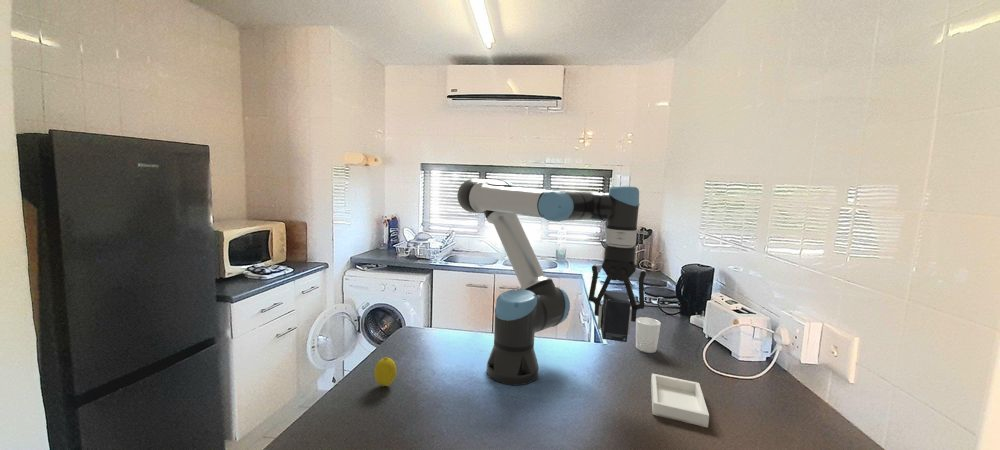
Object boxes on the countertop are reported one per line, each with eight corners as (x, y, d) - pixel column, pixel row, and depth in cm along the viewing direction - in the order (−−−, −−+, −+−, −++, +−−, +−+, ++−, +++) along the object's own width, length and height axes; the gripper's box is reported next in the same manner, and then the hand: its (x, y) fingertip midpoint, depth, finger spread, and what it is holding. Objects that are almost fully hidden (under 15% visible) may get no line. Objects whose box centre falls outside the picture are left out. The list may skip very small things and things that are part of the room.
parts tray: (652, 414, 91) (653, 402, 90) (650, 383, 105) (651, 373, 105) (707, 427, 86) (709, 415, 86) (698, 393, 101) (699, 382, 101)
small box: (628, 343, 93) (632, 302, 92) (602, 340, 95) (605, 300, 94) (623, 328, 104) (626, 291, 103) (599, 325, 105) (602, 289, 104)
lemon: (370, 386, 98) (370, 356, 97) (389, 378, 102) (389, 350, 101) (381, 394, 94) (381, 364, 93) (400, 386, 98) (400, 357, 97)
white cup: (661, 354, 125) (664, 325, 124) (638, 353, 125) (641, 324, 124) (652, 344, 133) (655, 317, 132) (630, 343, 133) (633, 316, 132)
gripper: (580, 243, 97) (574, 328, 99) (661, 251, 90) (653, 342, 92) (584, 240, 104) (578, 319, 106) (660, 247, 97) (653, 331, 99)
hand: (613, 329), depth 99 cm, fingers closed on small box, 7 cm apart
